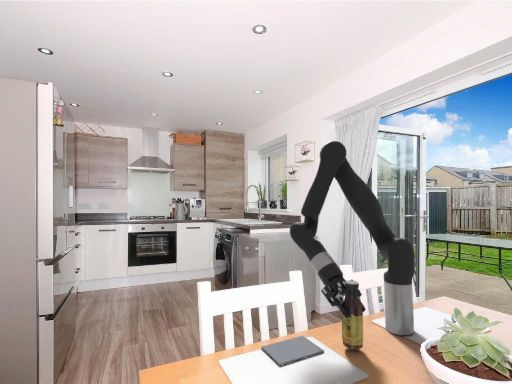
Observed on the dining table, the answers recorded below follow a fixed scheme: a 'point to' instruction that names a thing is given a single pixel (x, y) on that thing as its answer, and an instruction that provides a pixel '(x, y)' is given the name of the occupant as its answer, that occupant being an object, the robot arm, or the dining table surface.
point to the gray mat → (292, 350)
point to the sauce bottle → (352, 318)
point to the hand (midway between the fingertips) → (356, 313)
